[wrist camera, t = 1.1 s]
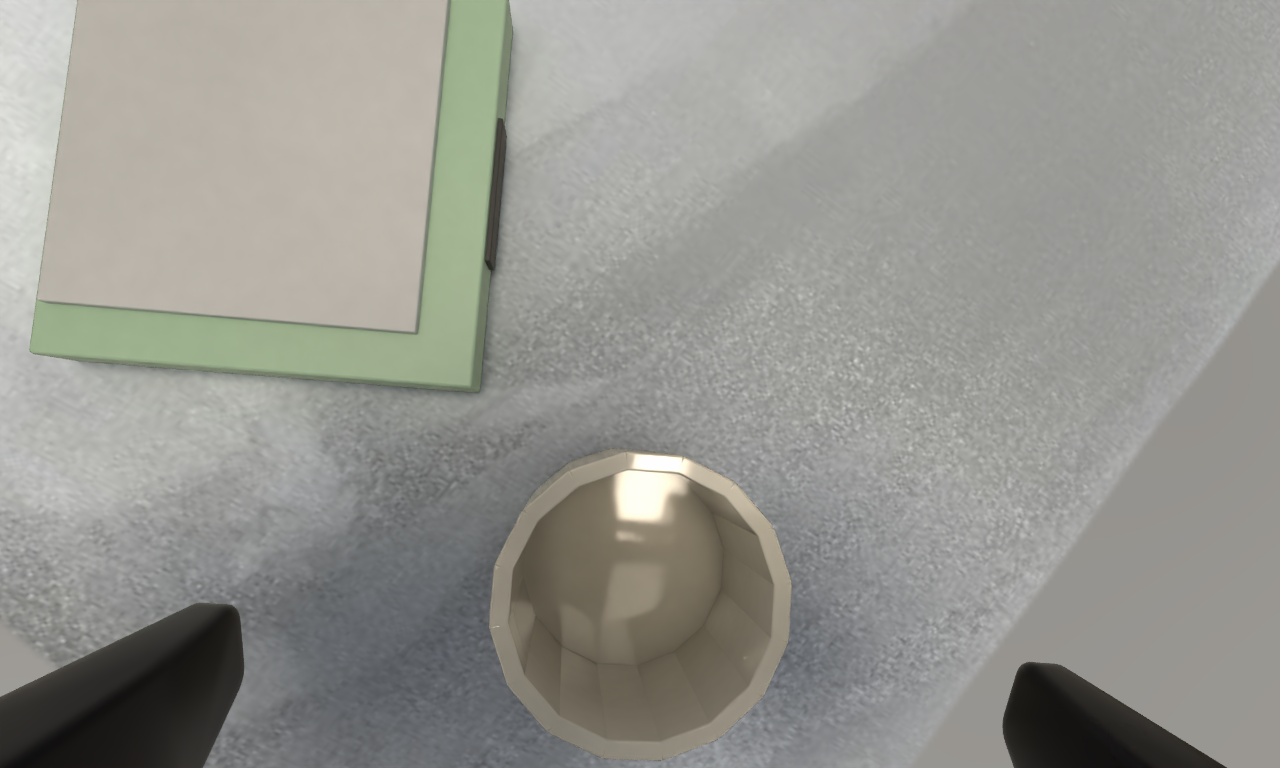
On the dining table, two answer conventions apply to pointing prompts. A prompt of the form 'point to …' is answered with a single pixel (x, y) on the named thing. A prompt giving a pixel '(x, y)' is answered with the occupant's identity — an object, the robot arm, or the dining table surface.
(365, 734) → the dining table surface
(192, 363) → the scale
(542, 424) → the dining table surface
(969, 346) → the dining table surface
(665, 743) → the ramekin
